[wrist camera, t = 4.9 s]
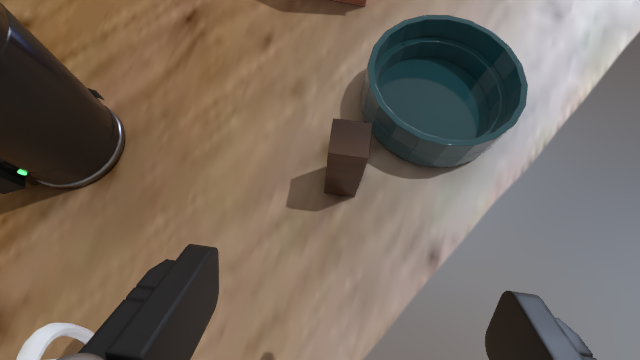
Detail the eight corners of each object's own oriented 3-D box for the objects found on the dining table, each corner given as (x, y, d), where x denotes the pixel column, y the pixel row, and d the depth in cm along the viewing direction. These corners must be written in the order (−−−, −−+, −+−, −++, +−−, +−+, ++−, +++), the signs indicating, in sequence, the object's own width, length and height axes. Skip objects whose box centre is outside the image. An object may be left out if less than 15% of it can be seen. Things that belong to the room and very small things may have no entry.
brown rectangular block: (354, 197, 33) (368, 158, 25) (324, 193, 33) (328, 153, 25) (357, 169, 34) (372, 123, 26) (328, 165, 34) (333, 117, 26)
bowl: (393, 188, 34) (407, 166, 28) (341, 71, 38) (345, 35, 33) (523, 146, 36) (558, 118, 30) (458, 40, 40) (479, 0, 35)
